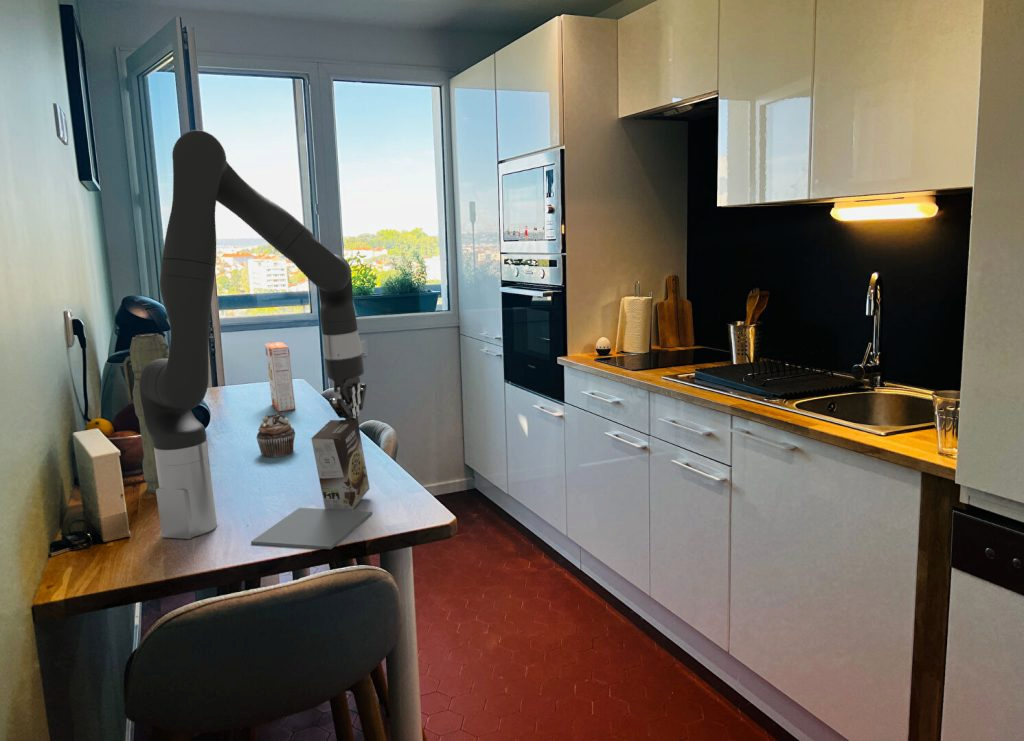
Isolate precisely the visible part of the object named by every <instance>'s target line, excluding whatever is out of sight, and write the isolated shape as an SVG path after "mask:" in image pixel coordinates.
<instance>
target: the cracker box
mask: <svg viewBox="0 0 1024 741" xmlns="http://www.w3.org/2000/svg"><path fill="white" fill-rule="evenodd" d="M264 347H265V356H266V363H267V372H268V378H269V379H268V381H269V387H270V388H269V389H270V398H271V404H272V406H274V408H275V409H276V411H277V412H278V413H282V412H288V411H294V409H295V410H296V402H295V393H294V392H295V391H294V384H293V374H292V366H291V356H290V348H289V346H287V345H286V344H285V343H284V342H282V341H277V342H268V343H264ZM281 411H282V412H281Z"/></svg>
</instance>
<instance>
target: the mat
mask: <svg viewBox="0 0 1024 741" xmlns="http://www.w3.org/2000/svg"><path fill="white" fill-rule="evenodd" d="M372 514H373V511H372V510H371V511H370V510H369V511H368V510H367V511H366V510H354V509H353V510H334V509H325V508H311V507H298V508H297V509H295V510H294V511H293V512H291V513H290V514H288V515H287V516H286V517H284V518H282V519H281V520H279V521H277V523H275V524H274V525H272V526H271V527H270V528H268V529H267V530H264V532H262V533H261V534H260V535H258V536H256V537H255V538H254V539H252V540H251V541H250V544H251V545H259V546H260V545H263V546H276V547H279V546H280V547H291V548H292V547H293V548H307V549H320V550H321V549H324V550H332V549H333V548H334V547H336V546H337V545H338V544H339V543H340V542H341V541H343V540H344V539H345V538H346V537H348V536H349V534H351V533H352V532H353V531H354V530H356V528H357V527H359V526H360V525H361V524H362V523H363V522H365V521H366V520H367V519H368V518H370V517H371V515H372Z"/></svg>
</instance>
